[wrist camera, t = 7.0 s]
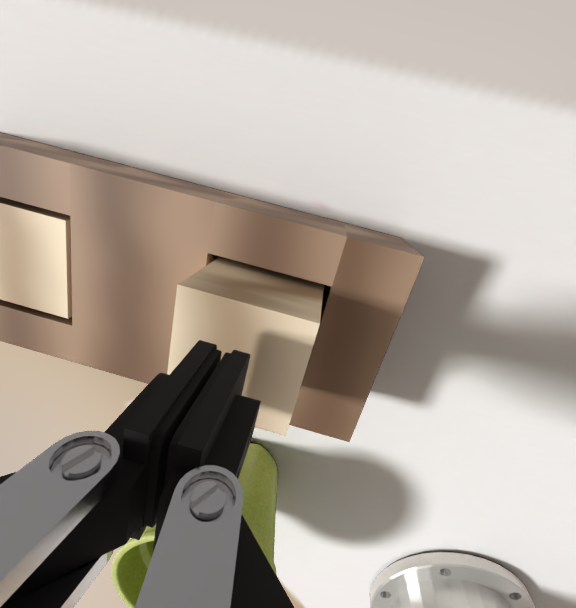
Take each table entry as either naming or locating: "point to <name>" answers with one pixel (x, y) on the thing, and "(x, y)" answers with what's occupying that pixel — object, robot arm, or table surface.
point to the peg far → (35, 258)
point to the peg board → (191, 258)
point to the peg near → (252, 329)
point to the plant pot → (256, 511)
